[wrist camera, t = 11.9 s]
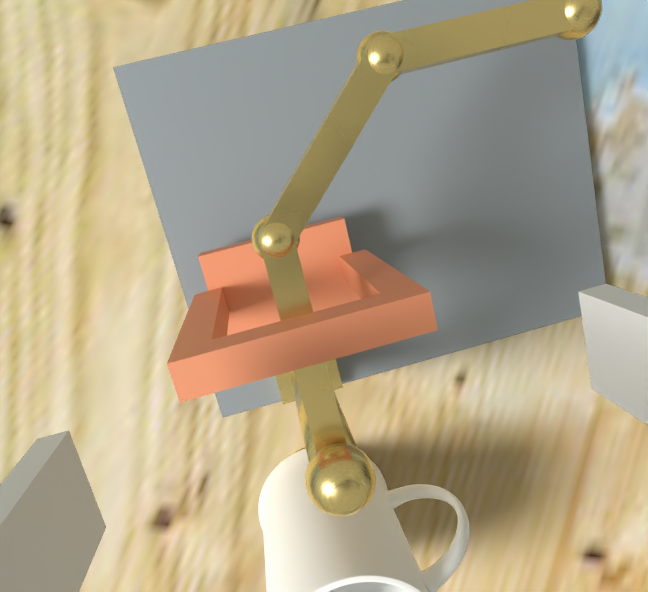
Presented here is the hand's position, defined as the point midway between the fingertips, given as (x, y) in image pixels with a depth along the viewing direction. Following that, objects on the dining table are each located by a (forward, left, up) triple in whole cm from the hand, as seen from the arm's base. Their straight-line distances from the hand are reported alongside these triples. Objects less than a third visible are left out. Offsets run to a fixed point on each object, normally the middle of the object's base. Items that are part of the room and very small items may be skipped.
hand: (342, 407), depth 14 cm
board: (-7, -3, -20) cm, 21 cm away
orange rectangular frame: (0, 0, -17) cm, 17 cm away
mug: (0, +15, -20) cm, 25 cm away
